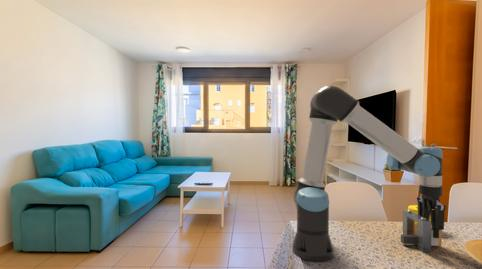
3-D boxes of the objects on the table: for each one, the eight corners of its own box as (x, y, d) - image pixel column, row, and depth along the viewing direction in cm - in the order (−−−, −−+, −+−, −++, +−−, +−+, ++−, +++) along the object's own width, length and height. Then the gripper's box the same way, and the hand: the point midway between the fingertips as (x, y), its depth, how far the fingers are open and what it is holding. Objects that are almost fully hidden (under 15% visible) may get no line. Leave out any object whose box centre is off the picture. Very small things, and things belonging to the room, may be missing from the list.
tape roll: (416, 222, 129) (416, 204, 129) (438, 229, 119) (438, 209, 119) (403, 225, 125) (403, 206, 125) (424, 232, 116) (424, 212, 116)
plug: (405, 244, 101) (405, 227, 101) (399, 240, 105) (399, 223, 105) (441, 245, 101) (441, 228, 101) (434, 241, 105) (434, 224, 105)
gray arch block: (422, 252, 97) (422, 219, 97) (402, 238, 110) (402, 209, 110) (430, 252, 96) (431, 219, 96) (409, 238, 109) (409, 209, 109)
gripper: (457, 190, 94) (456, 253, 94) (425, 181, 111) (425, 234, 111) (436, 189, 94) (435, 252, 94) (408, 181, 111) (407, 234, 111)
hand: (430, 242), depth 103 cm, fingers closed on plug, 4 cm apart
